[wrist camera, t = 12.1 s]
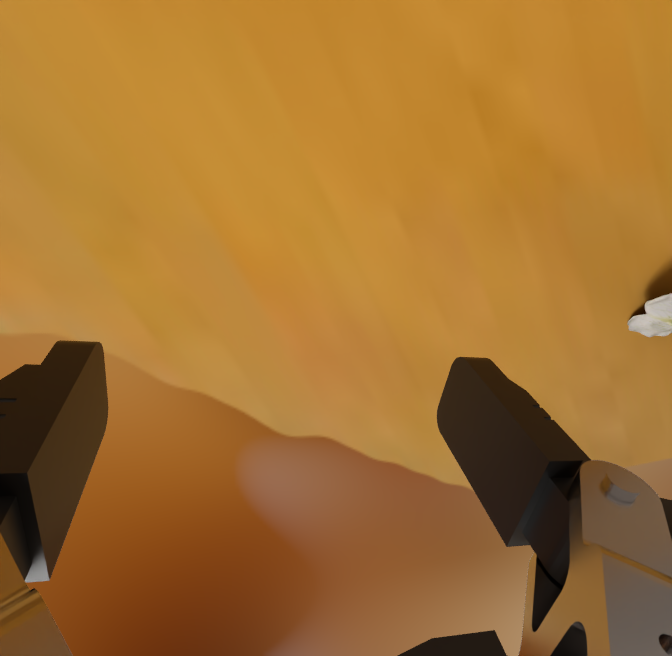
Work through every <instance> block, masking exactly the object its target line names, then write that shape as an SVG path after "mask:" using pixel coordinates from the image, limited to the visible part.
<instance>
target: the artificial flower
mask: <svg viewBox="0 0 672 656" xmlns="http://www.w3.org/2000/svg"><path fill="white" fill-rule="evenodd" d="M645 311H646V314H643V315H637V316H633V317H632V318H631V319H630V320H629V321H628V325H629V329H628V330H631V331H636V332H640V333H641V334H643V335H645V336H648V337H652V336H666V335H669V334H670V333H672V293H671V294H667V295H663V296H660V297H658V298H655V299H653V300H650V301H647V302H646V303H645Z"/></svg>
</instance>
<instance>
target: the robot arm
mask: <svg viewBox="0 0 672 656" xmlns="http://www.w3.org/2000/svg"><path fill="white" fill-rule="evenodd" d="M107 418H108V398H107V386H106V374H105V363H104V352H103V347H102V344H101V343H100V342H84V341H57V342H56V343H55V345H54V346H53V348H52V349H51V350H50V352H49V353H48V355H47V356H46V358H45V359H44V361H43V362H42V363H41V365H28V364H25V365H23V366H22V367H20V368H19V369H17V370H16V371H14V372H12V373H11V374H9V375H7V376H6V377H4V378H2V379H1V380H0V656H73V655H72V654H71V652H70V650H69V648H68V646H67V644H66V642H65V640H64V638H63V636H62V634H61V633H60V631H59V629H58V627H57V625H56V623H55V621H54V619H53V617H52V615H51V613H50V611H49V609H48V607H47V606H46V604H45V602H44V600H43V599H42V597H41V595H40V594H39V592H38V591H37V590H36V589H32V590H30V589H29V588H28V586H27V584H26V583H25V582H37V581H49V580H50V578H51V575H52V572H53V569H54V567H55V564H56V562H57V559H58V556H59V554H60V551H61V548H62V546H63V543H64V540H65V537H66V535H67V532H68V529H69V527H70V524H71V521H72V519H73V516H74V513H75V511H76V508H77V505H78V503H79V500H80V497H81V495H82V492H83V489H84V487H85V484H86V481H87V479H88V476H89V473H90V471H91V468H92V465H93V463H94V460H95V457H96V455H97V452H98V449H99V447H100V444H101V441H102V439H103V436H104V433H105V429H106V424H107ZM437 423H438V428H439V431H440V433H441V435H442V436H443V438H444V440H445V442H446V443H447V445H448V447H449V448H450V450H451V452H452V454H453V455H454V457H455V459H456V460H457V462H458V464H459V466H460V467H461V469H462V471H463V472H464V474H465V476H466V478H467V479H468V481H469V483H470V484H471V486H472V488H473V490H474V491H475V493H476V495H477V496H478V498H479V500H480V502H481V503H482V505H483V507H484V508H485V510H486V512H487V514H488V515H489V517H490V519H491V521H492V522H493V524H494V526H495V527H496V529H497V531H498V533H499V534H500V536H501V538H502V539H503V541H504V543H505V545H506V546H507V547H510V546H523V545H531V547H532V549H533V550H534V553H533V555H532V557H531V559H530V561H529V565H528V575H527V587H526V597H525V609H524V620H523V631H522V642H521V647H520V652H519V655H518V656H672V500H667V499H663V498H659V497H658V495H657V494H656V492H655V491H654V490H653V489H652V488H651V487H650V486H649V485H648V484H647V483H646V482H645V481H643V480H642V479H641V478H640V477H638V476H637V475H635V474H633V473H632V472H630V471H628V470H626V469H625V468H623V467H620V466H618V465H615V464H613V463H610V462H605V461H600V460H591V459H590V458H589V457H588V456H587V455H586V454H585V453H584V452H583V451H582V450H581V449H580V448H579V447H578V445H577V444H576V443H575V442H574V441H573V440H572V439H571V438H570V437H569V436H568V435H567V434H566V433H565V432H564V431H563V429H562V428H561V427H560V426H559V425H558V424H557V423H556V422H555V421H554V420H551V417H550V416H549V415H548V413H547V412H546V411H545V410H544V409H543V408H540V407H539V404H538V403H537V402H536V401H535V400H534V399H533V397H532V396H531V395H530V394H529V393H528V392H527V391H526V390H524V389H523V388H521V387H520V386H518V385H517V384H515V383H514V382H512V381H511V380H509V379H508V378H507V377H506V376H505V375H504V374H503V372H502V371H501V370H500V369H499V368H498V367H497V366H496V365H495V364H494V363H493V362H492V361H491V360H490V359H488V358H474V357H458V358H456V359H455V360H454V362H453V364H452V366H451V369H450V372H449V375H448V378H447V381H446V384H445V387H444V390H443V393H442V397H441V400H440V403H439V406H438V410H437ZM398 656H506V653H505V652H504V649H503V647H502V645H501V643H500V641H499V639H498V637H497V634H496V632H495V630H493V631H486V632H478V633H470V634H462V635H456V636H447V637H439V638H432V639H430V640H428V641H426V642H424V643H422V644H420V645H418V646H416V647H414V648H412V649H410V650H408V651H406V652H404V653H402V654H400V655H398Z"/></svg>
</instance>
